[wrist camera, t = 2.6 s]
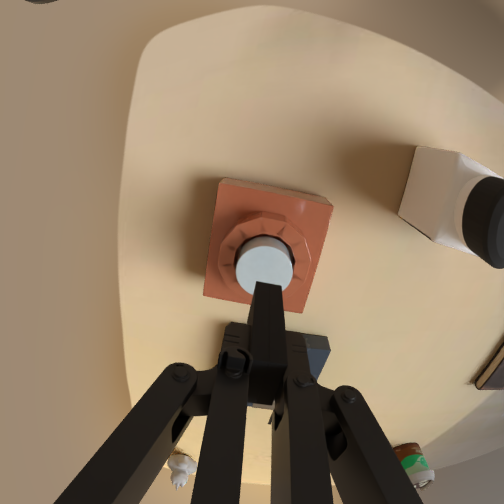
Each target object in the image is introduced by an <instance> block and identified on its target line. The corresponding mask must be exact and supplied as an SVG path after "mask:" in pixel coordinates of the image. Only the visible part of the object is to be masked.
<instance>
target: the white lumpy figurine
mask: <svg viewBox="0 0 504 504" xmlns="http://www.w3.org/2000/svg"><path fill="white" fill-rule="evenodd" d="M167 464H168V466H169V468H171V470H172V471H173V472H172V474H171V481H172V484H173V485H174V484H176V490H177V489H178V487H179V486H181V487H183V486H184V485H185V484H186V483H187V480H188V475H190V474H192V473H194V472H195V471H196V469H197V463H196V461H194V460H193V459H192V458H191V457H189V456H186V455H182V454H176V455H171V456H170V457H169V459H168V462H167Z"/></svg>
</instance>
